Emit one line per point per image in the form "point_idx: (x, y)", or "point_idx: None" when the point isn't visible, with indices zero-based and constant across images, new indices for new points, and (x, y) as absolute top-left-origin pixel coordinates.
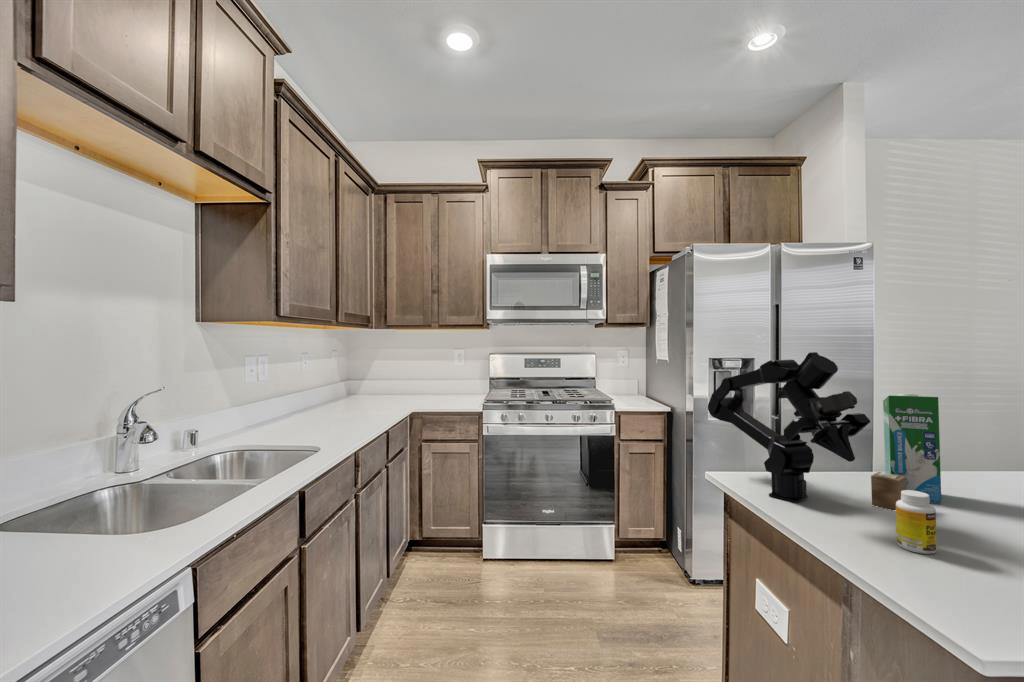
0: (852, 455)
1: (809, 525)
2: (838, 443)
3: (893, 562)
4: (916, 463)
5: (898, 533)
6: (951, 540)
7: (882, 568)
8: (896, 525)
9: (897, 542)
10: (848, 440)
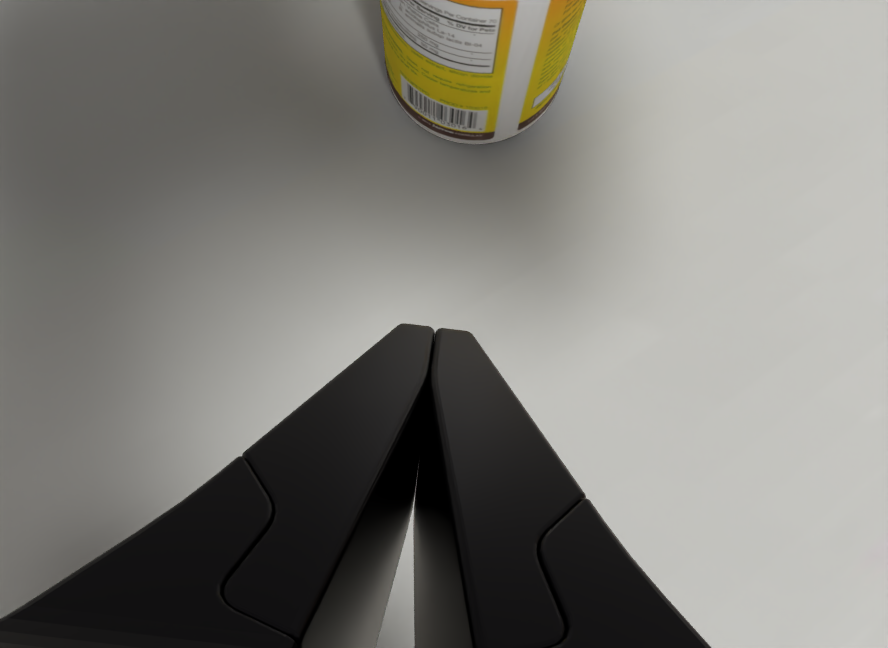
0: (418, 346)
1: (756, 558)
2: (611, 536)
3: (762, 28)
4: None
5: (558, 73)
6: (166, 54)
7: (878, 14)
8: (545, 71)
9: (536, 119)
10: (199, 510)
